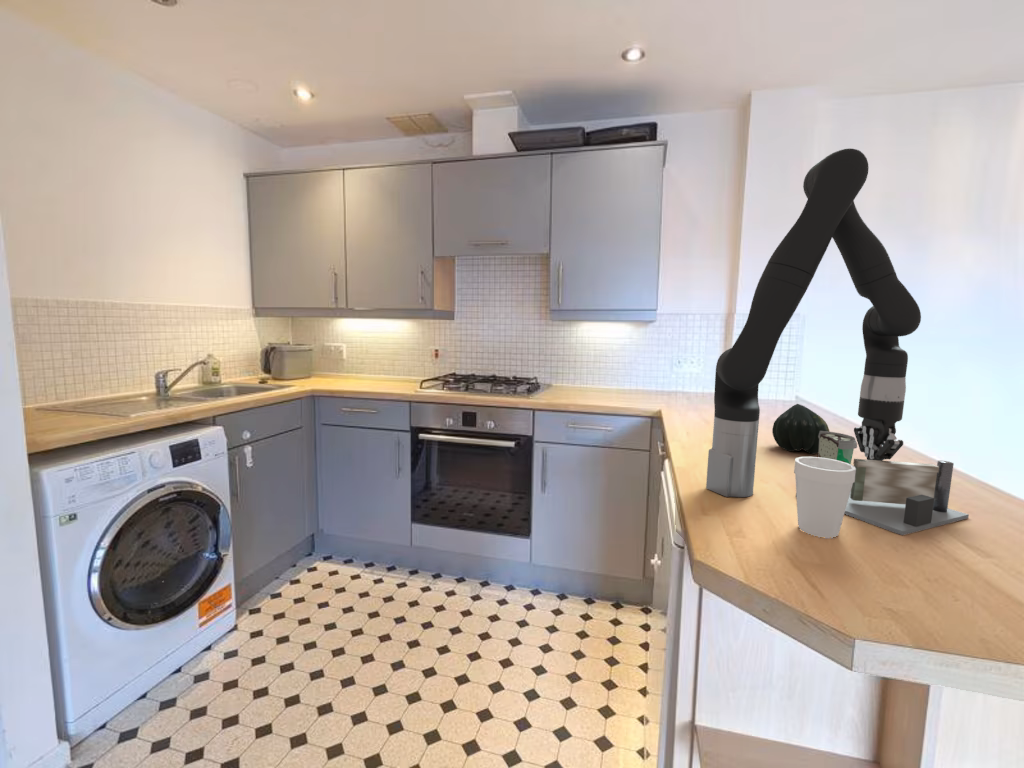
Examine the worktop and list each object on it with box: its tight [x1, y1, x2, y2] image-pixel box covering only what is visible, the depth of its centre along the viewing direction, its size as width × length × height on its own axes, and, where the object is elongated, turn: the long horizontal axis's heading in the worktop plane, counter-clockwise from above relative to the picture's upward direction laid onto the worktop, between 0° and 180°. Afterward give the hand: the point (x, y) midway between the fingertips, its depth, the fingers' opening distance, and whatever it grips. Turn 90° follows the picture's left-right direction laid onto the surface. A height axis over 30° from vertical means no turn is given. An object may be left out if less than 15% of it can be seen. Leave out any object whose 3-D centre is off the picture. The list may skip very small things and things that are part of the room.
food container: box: [817, 431, 858, 465], centre depth 123 cm, size 12×6×10 cm, turn 168°
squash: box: [771, 403, 831, 455], centre depth 146 cm, size 14×15×15 cm
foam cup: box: [793, 456, 856, 539], centre depth 87 cm, size 10×9×13 cm
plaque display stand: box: [844, 460, 970, 536], centre depth 100 cm, size 22×21×11 cm
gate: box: [850, 458, 939, 504], centre depth 98 cm, size 14×2×9 cm, turn 77°
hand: (872, 475), depth 102 cm, fingers closed
